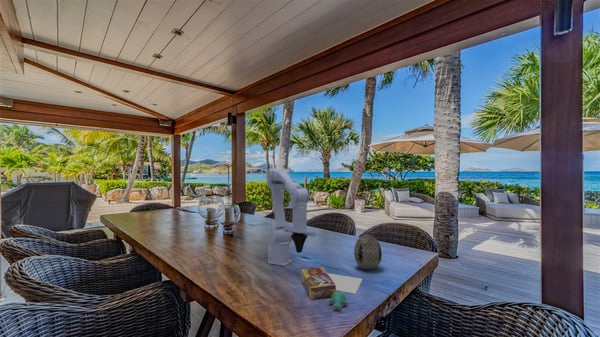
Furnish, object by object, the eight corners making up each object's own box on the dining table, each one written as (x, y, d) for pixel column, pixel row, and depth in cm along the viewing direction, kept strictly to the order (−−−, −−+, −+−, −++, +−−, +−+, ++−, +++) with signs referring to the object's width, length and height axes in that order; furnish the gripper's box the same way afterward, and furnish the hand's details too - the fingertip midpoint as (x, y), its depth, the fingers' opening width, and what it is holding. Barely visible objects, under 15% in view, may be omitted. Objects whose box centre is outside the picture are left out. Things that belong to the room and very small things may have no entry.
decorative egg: (348, 269, 116) (349, 234, 117) (362, 262, 125) (362, 230, 125) (373, 276, 108) (373, 239, 109) (386, 268, 117) (386, 234, 117)
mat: (313, 286, 98) (313, 285, 98) (324, 273, 111) (324, 272, 111) (355, 294, 92) (355, 293, 92) (362, 279, 105) (362, 278, 105)
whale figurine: (348, 302, 87) (348, 290, 87) (346, 313, 80) (346, 300, 80) (330, 299, 88) (330, 288, 88) (326, 310, 81) (327, 298, 81)
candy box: (301, 280, 103) (310, 299, 88) (301, 269, 103) (310, 286, 88) (323, 278, 105) (336, 296, 90) (323, 267, 105) (336, 284, 90)
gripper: (320, 218, 107) (319, 252, 107) (290, 215, 115) (290, 246, 115) (311, 221, 101) (310, 257, 101) (280, 217, 109) (280, 250, 109)
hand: (299, 252), depth 108 cm, fingers closed
